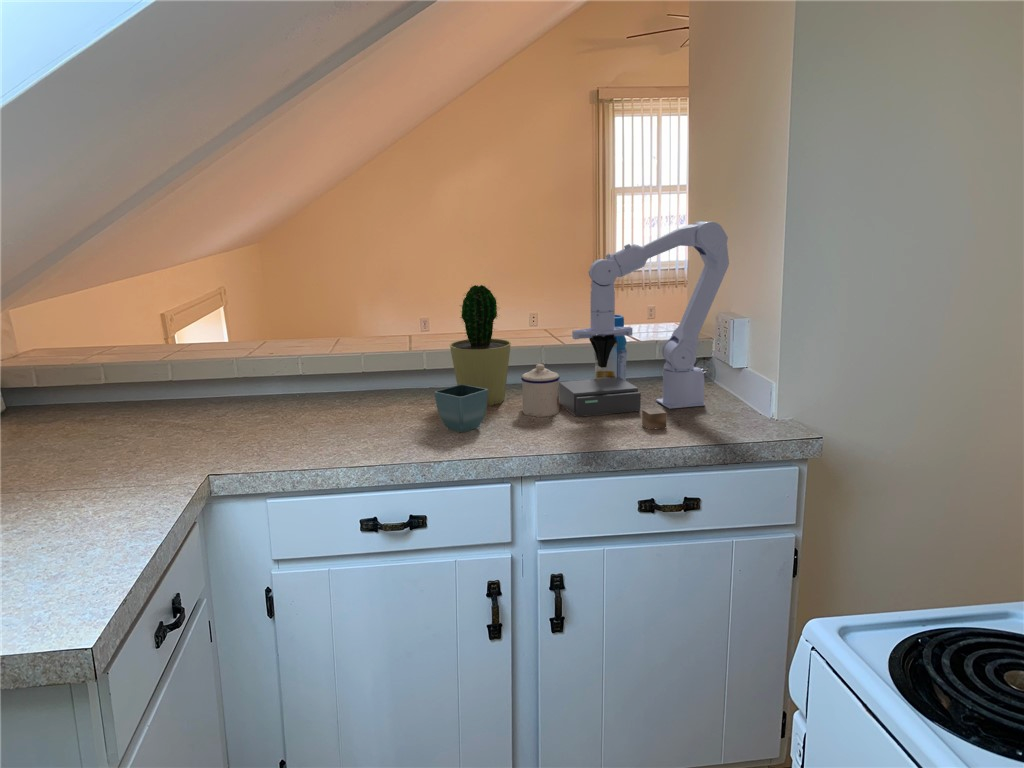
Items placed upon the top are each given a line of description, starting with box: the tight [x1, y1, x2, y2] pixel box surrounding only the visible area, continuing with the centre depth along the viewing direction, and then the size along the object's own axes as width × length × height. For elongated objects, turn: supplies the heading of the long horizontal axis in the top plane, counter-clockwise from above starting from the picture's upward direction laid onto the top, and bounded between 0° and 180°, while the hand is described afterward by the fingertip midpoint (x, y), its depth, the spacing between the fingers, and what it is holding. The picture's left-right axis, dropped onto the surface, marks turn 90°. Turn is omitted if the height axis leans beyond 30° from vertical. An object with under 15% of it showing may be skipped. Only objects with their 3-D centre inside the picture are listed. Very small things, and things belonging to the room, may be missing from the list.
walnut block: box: [641, 407, 668, 430], centre depth 164 cm, size 4×4×4 cm
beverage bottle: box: [593, 314, 628, 381], centre depth 193 cm, size 8×8×20 cm
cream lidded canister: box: [520, 363, 561, 418], centre depth 178 cm, size 12×9×12 cm
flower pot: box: [433, 384, 488, 434], centre depth 165 cm, size 9×9×9 cm
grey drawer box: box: [559, 377, 639, 417], centre depth 181 cm, size 16×13×5 cm
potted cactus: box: [449, 284, 512, 407], centre depth 186 cm, size 15×15×30 cm
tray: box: [575, 391, 642, 418], centre depth 179 cm, size 16×12×4 cm
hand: (602, 366), depth 179 cm, fingers closed
